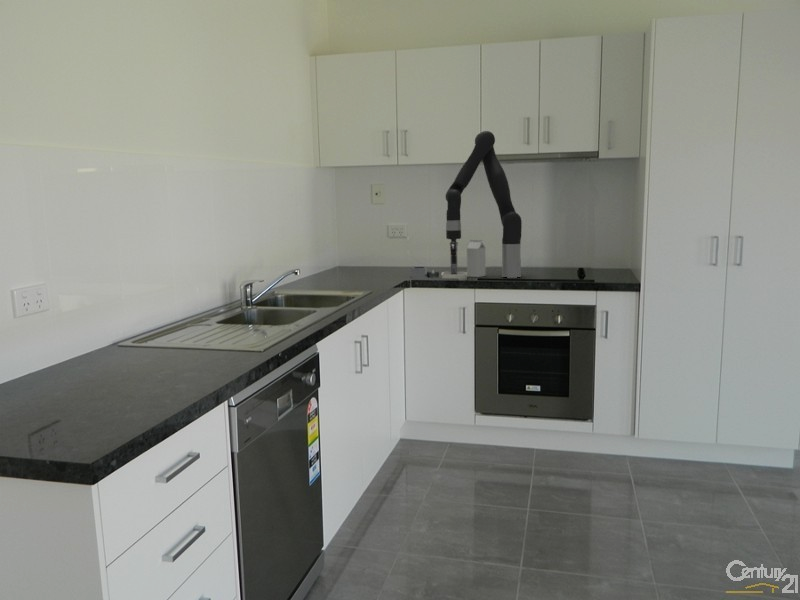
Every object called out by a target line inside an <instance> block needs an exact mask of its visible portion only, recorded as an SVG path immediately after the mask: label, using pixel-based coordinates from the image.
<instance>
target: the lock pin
mask: <svg viewBox="0 0 800 600" xmlns="http://www.w3.org/2000/svg"><path fill="white" fill-rule="evenodd" d="M449 251H450V250H449ZM452 253H455V252H452ZM449 254H450V272H451V274H457V272H458V251H457V252H456V264H452V256H451V251H450V253H449Z"/></svg>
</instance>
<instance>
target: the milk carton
mask: <svg viewBox="0 0 800 600" xmlns="http://www.w3.org/2000/svg"><path fill="white" fill-rule="evenodd" d="M467 245H468V246H466V272H467V278H468V277H469V278H481V277H485V276H486V246H485V244H484V243H483V240H482V239H470V240H469V243H468V244H467Z"/></svg>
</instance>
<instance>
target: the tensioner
mask: <svg viewBox="0 0 800 600" xmlns="http://www.w3.org/2000/svg"><path fill="white" fill-rule="evenodd" d="M427 269H428V268H427V266H412V268H411V279H439V278H441V274H440V271H436V270H434V269H433V270H432V269H431V270H430V271H427Z"/></svg>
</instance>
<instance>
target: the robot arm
mask: <svg viewBox="0 0 800 600" xmlns="http://www.w3.org/2000/svg"><path fill="white" fill-rule="evenodd" d="M495 142H496V137H495V135H494V133H493V132H491V131H489V130H484V131H481V132H479V133H478V134H477V135H476V136H475V139H474V147H473V149H472V151H471V153H470V155H469V156H468V158H467V160H466V161H465V162H464V164H463V165H462V166H461V168H460V169H459V171H458V173H457V175H456V177H455V178H454V181H453V182H452V184H451V185H450V186H449V188H448V189H447V191H446V193H445V200H446V202H447V208H446V209H447V210H446V222H445V223H446V225H445V228H446V229H445V232H446V233H445V235H446V239H447V240H450V241H451V242H449V247H450V248H449V249H450V250H449V251H451V255H450V257H451V256H452V264H456V252H457V253H458V246H459V242H457V240H460V239H462V222H461V207H462V206H461V205H462V193H463V191H465V189H466V188H467V186H468V185H469V184H470V182H471V180H472V179H473V177H474V175H475V172H476V171H477V170H478V168H479V165H480V164H481V162H482V163H483V168H484V172H485V175H486V178H487V182H488V185H489V189H490V191H491V193H492V196H493V198H494V201H495V203H496V205H497V208H498V212H499V215H500V221H501V222H500V223H501V225H502V239H501V244H502V245H501V249H502V250H501V253H502V255H501V257H502V262H501V270H502V271H501V272H502V273H501V277H502V278H503V277H507V278H506V279H518V278H517V277H522V276H521V274H522V273H521V272H522V271H521V270H522V269H521V268H522V264H521V261H522V259H521V244H522V243H521V241H522V228H523V227H522V223H523V222H522V218H521V215H519V214H518V213H517V212H516V209H515V206H514V205H513V201H512V198H511V190H510V184H509V181H508V177H507V175H506V173H505V170H504V168H503V166H502V164H501V163H500V162H499V159H498V157H497V153H496V151H495V147H494V145H495ZM452 252H455V253H452Z"/></svg>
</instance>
